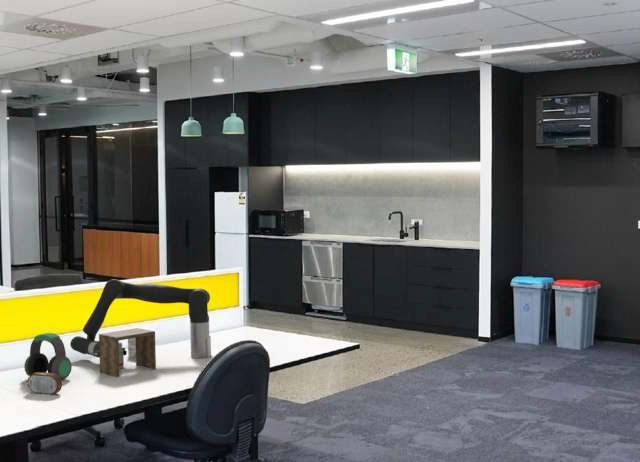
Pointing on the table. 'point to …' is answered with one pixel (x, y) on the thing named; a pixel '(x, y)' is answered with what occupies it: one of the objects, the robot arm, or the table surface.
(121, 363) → the pill bottle
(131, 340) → the ink box
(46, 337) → the headphones
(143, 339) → the tunnel
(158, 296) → the robot arm
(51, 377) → the tin
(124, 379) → the table surface
